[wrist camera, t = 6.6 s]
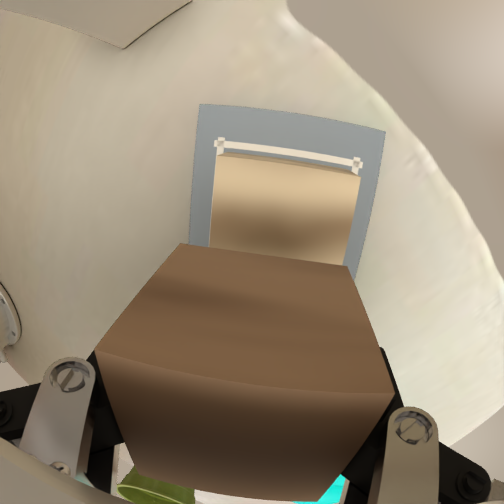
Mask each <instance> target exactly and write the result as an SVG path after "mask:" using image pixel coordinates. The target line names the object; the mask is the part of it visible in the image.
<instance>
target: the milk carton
mask: <svg viewBox="0 0 504 504" xmlns="http://www.w3.org/2000/svg"><path fill="white" fill-rule="evenodd" d="M190 1H191V0H0V9H3V10H7V11H12V12H16V13H20V14H24V15H27V16H31V17H34V18H38V19H41V20H45V21H48V22H51V23H54V24H58V25H61V26H64V27H67V28H70V29H72V30H75V31H78V32H81V33H84V34H86V35H89V36H92V37H94V38H97V39H99V40H102V41H105V42H107V43H109V44H112V45H114V46H117V47H119V48H122V49H124V48H125V47H126V46H128V45H129V44H130V43H131V42H133V41H134V40H135V39H136V38H138V37H139V36H140V35H142V34H143V33H144V32H146V31H147V30H148V29H150V28H151V27H152V26H154V25H155V24H157V23H158V22H159V21H161V20H162V19H164V18H165V17H167V16H168V15H170V14H171V13H173V12H174V11H176V10H177V9H179V8H180V7H182V6H183V5H185V4H187V3H188V2H190Z"/></svg>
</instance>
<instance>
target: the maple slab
mask: <svg viewBox="0 0 504 504" xmlns="http://www.w3.org/2000/svg"><path fill="white" fill-rule="evenodd" d="M360 180H361V177H360V176H358V175H357V174H355V173H353V172H351V171H350V170H348V169H343V168H337V167H332V166H326V165H321V164H315V163H309V162H303V161H296V160H290V159H283V158H276V157H268V156H260V155H252V154H244V153H235V152H226V153H223V154H220V155H217V157H216V167H215V178H214V189H213V201H212V213H211V226H210V240H209V247H210V248H218V249H225V250H232V251H240V252H247V253H254V254H262V255H269V256H276V257H284V258H291V259H299V260H306V261H313V262H321V263H328V264H335V265H342V264H343V260H344V256H345V251H346V247H347V243H348V239H349V234H350V230H351V225H352V220H353V216H354V211H355V206H356V201H357V196H358V191H359V186H360Z"/></svg>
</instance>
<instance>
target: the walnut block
mask: <svg viewBox="0 0 504 504" xmlns="http://www.w3.org/2000/svg"><path fill="white" fill-rule="evenodd" d="M94 351H95V354H96V358H97V362H98V366H99V369H100V373H101V376H102V379H103V383H104V386H105V389H106V392H107V395H108V398H109V401H110V404H111V407H112V410H113V413H114V416H115V418H116V421H117V424H118V426H119V429H120V432H121V434H122V437H123V439H124V442H125V444H126V446H127V449H128V451H129V454H130V456H131V458H132V460H133V463H134V465H135V467H136V469H137V471H138V474H139V475H142V476H146V477H149V478H152V479H156V480H159V481H163V482H167V483H170V484H174V485H178V486H183V487H187V488H191V489H196V490H201V491H206V492H212V493H217V494H223V495H230V496H237V497H244V498H253V499H263V500H276V501H296V502H317V501H318V500H319V499H320V498H321V497H322V496H323V495H324V493H325V492H326V491H327V490H328V489H329V487H330V486H331V485H332V484H333V483H334V481H335V480H336V479H337V478H338V476H339V475H340V474H341V473H342V471H343V470H344V469H345V468H346V466H347V465H348V464H349V462H350V461H351V460H352V458H353V457H354V456H355V454H356V453H357V452H358V450H359V449H360V447H361V446H362V445H363V443H364V442H365V440H366V439H367V437H368V436H369V434H370V433H371V431H372V430H373V428H374V427H375V425H376V424H377V422H378V421H379V419H380V418H381V416H382V414H383V413H384V411H385V410H386V408H387V406H388V405H389V403H390V401H391V400H392V398H393V396H394V395H395V391H394V388H393V385H392V382H391V379H390V376H389V373H388V370H387V367H386V365H385V362H384V359H383V356H382V353H381V350H380V348H379V345H378V342H377V339H376V337H375V334H374V331H373V329H372V326H371V323H370V321H369V318H368V316H367V313H366V311H365V308H364V305H363V303H362V300H361V298H360V296H359V293H358V291H357V288H356V286H355V283H354V281H353V279H352V276H351V274H350V271H349V269H348V267H347V266H343V265H335V264H328V263H321V262H313V261H306V260H299V259H291V258H284V257H276V256H269V255H262V254H254V253H247V252H240V251H232V250H225V249H218V248H210V247H203V246H196V245H188V244H181V243H180V244H179V246H178V247H177V248H176V249H175V250H174V251H173V252H172V254H171V255H170V256H169V257H168V258H167V259H166V261H165V262H164V263H163V264H162V265H161V266H160V268H159V269H158V270H157V271H156V272H155V274H154V275H153V276H152V277H151V278H150V280H149V281H148V282H147V283H146V284H145V286H144V287H143V288H142V289H141V290H140V292H139V293H138V294H137V295H136V296H135V298H134V299H133V300H132V301H131V303H130V304H129V305H128V306H127V308H126V309H125V310H124V311H123V313H122V314H121V315H120V316H119V318H118V319H117V320H116V321H115V323H114V324H113V325H112V326H111V328H110V329H109V330H108V332H107V333H106V334H105V335H104V337H103V338H102V339H101V341H100V342H99V343H98V345H97V346H96V347H95V349H94Z"/></svg>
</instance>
